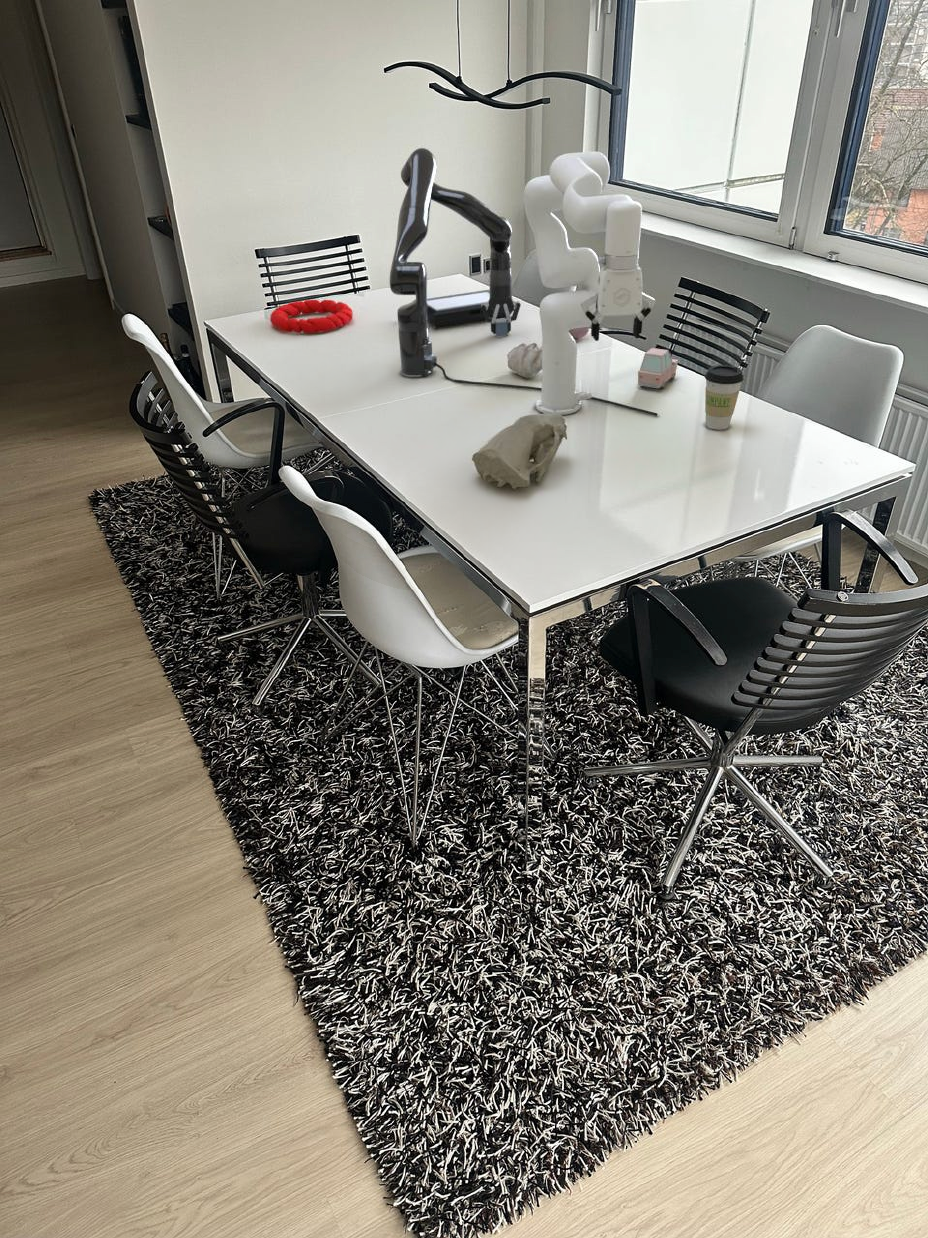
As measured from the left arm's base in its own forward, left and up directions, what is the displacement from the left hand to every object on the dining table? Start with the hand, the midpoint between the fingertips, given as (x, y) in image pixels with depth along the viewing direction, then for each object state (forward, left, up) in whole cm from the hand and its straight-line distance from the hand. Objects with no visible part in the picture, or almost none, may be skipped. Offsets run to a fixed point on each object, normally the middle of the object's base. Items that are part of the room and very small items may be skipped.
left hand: (500, 332), depth 309 cm
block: (0, 0, 0) cm, 0 cm away
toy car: (-62, +27, -1) cm, 67 cm away
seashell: (-23, +35, -1) cm, 42 cm away
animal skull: (-47, +99, -1) cm, 110 cm away
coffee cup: (-85, +55, -1) cm, 101 cm away
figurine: (-25, -7, -1) cm, 25 cm away
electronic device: (+21, -17, -1) cm, 27 cm away
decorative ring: (+72, +7, -1) cm, 72 cm away
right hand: (-62, +82, +28) cm, 107 cm away
